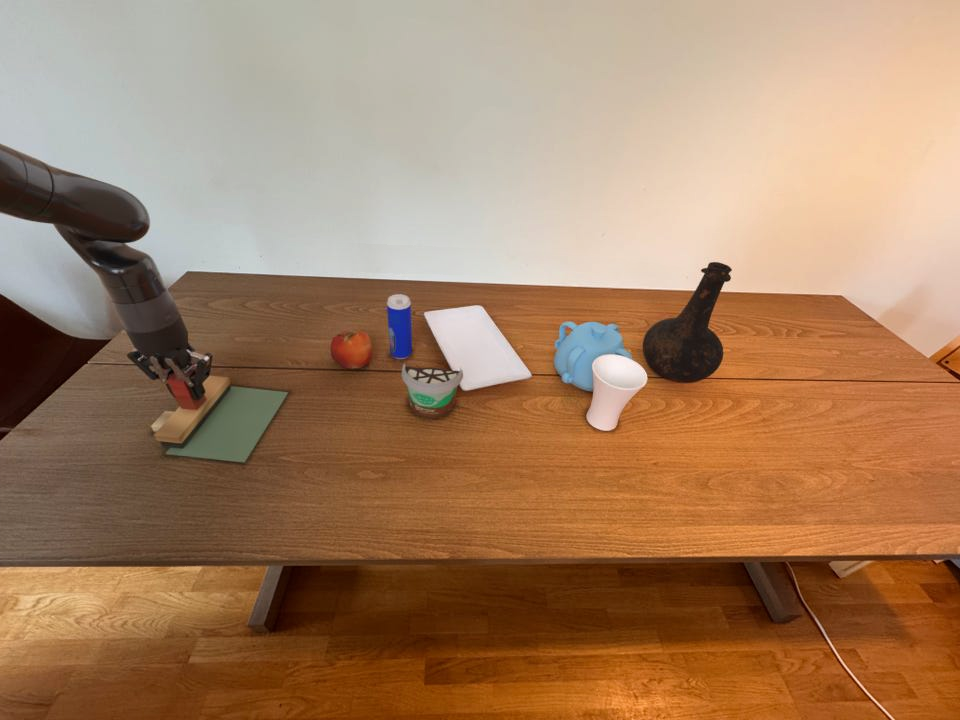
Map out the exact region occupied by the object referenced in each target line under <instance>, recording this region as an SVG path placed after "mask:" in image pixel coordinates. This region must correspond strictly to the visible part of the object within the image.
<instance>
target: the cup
mask: <svg viewBox="0 0 960 720" xmlns="http://www.w3.org/2000/svg"><path fill="white" fill-rule="evenodd" d="M592 370H593V385H594V390H593V391H592V398H591V401H590V406H589V408H588V410H587V413H586V420H587V423H589V425H591V426H592V427H593V428H595V429H597V430H600V431H604V432H606V431H608V432H609V431H613V430H614V429H615V428H616V427H617V426H618V422H619V419H620V416H621V414H622V412H623V411H624V409H625V407H626V406H627V404H628V403H629V401H630V400H631V399H632V398H633V397H634V396H635V395H636V394H637V393H638V392H639V391H641V389H642V388H644V387H645V385H646V384H647V383H648V374H647V372H646V370H645V368H644V367H643V366H642V365H641V364H639V363H638V362H637V361H636V360H634V359H633V360H631V359H629V358H627V357H624V356H620V355H615V354H607V355H602V356H600V357H598V358H596V359H595V360H594V362H593V364H592Z"/></svg>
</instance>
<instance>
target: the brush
mask: <svg viewBox="0 0 960 720" xmlns="http://www.w3.org/2000/svg"><path fill="white" fill-rule="evenodd" d="M190 377H192V374H191V373H190ZM167 382H168V384H169V386H170V388H171V390H172V392H173V394H174V395H175V397H176V398H175V400H176V401H177V404H178V405H179V406H178V407H177V408H176V409H175V411H173V412H174V413H173V414H172V415H171V416H170V417H169V419H168V420H167V421H166V422H165V423H164V424H163V425H162V426H161V427H160V429H159V430H158V431H157V432H154V434H153V436H154V437H153V438H155V440H156V441H157V442H159V443H160V445H161V446H162V447H163V448H164V447H165V448H170V447H172V448H181V449H183V448H184V446H185V445H186V444H187V443H188V441H189V440H190V439H191V438H192V436H193V435H194V434H195V433H196V431H197V430H198V429H199V428H200V426H201V425H202V424H203V423H204V421H205V420H206V419H207V418H208V416H209V415H210V414H211V413H212V411H213V410H214V409H215V408H216V406H217V405H218V404H219V403H220V401H221V400H222V399H223V398H224V396H225V395H226V394H227V393H228V391H229V390H230V389H231V386H232V385H231V383H232V382H231V380H230V377H229V376H218V375H211V374H210V376H209V377H208V378H207V379H206V380H205V381H204V382H203V386H204V389H205V391H206V392H205V394H204V395H203V396H202V398H201V399H200V400H194V399H193V397H192V395H191V393H190V391H189V389H188V387H187V386H188V385H187V384H186V383H185V381H184V380H183V379H182V377H178V376H177V375H176V373H174V374H173V375H172V376H171V377H170V378H169V379H168V380H167Z"/></svg>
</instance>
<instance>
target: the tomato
mask: <svg viewBox="0 0 960 720" xmlns="http://www.w3.org/2000/svg"><path fill="white" fill-rule="evenodd" d="M330 356H331V358H332V359H333V361H334V362H335V363H336V364H337V365H339V366H341V367H342V368H344V369H349V370H354V369H361V368H363V367H365V366H367V365H368V364H369V363H370V361H371V360H372V357H373V342H372V340H371V338H370V336H369V335H368V334H367V333H366V332H364V331H361V330H349V331H347V330H346V331H342V332H339V333H337V334H336V335H335V336H333V337H332V339H331V342H330Z"/></svg>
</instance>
